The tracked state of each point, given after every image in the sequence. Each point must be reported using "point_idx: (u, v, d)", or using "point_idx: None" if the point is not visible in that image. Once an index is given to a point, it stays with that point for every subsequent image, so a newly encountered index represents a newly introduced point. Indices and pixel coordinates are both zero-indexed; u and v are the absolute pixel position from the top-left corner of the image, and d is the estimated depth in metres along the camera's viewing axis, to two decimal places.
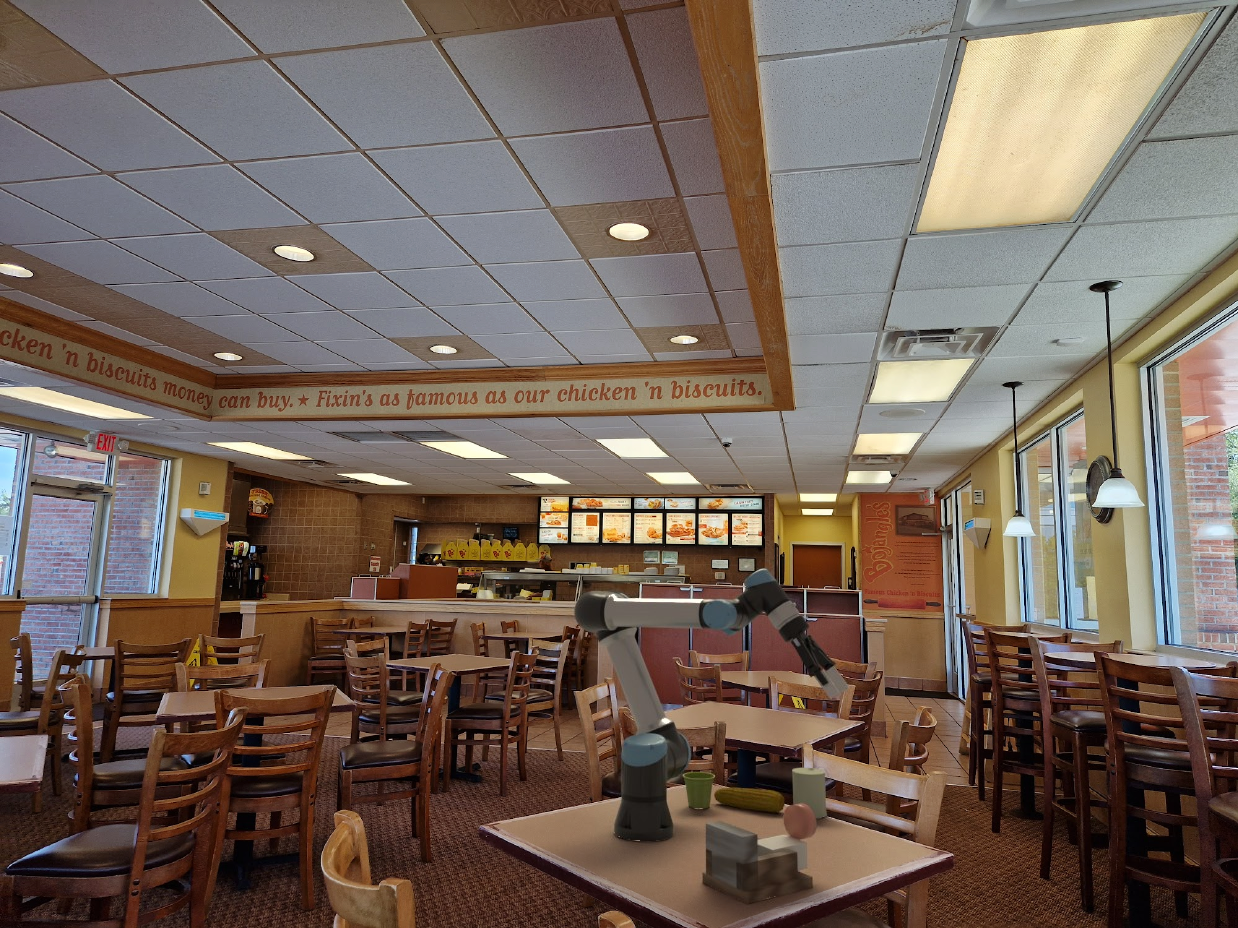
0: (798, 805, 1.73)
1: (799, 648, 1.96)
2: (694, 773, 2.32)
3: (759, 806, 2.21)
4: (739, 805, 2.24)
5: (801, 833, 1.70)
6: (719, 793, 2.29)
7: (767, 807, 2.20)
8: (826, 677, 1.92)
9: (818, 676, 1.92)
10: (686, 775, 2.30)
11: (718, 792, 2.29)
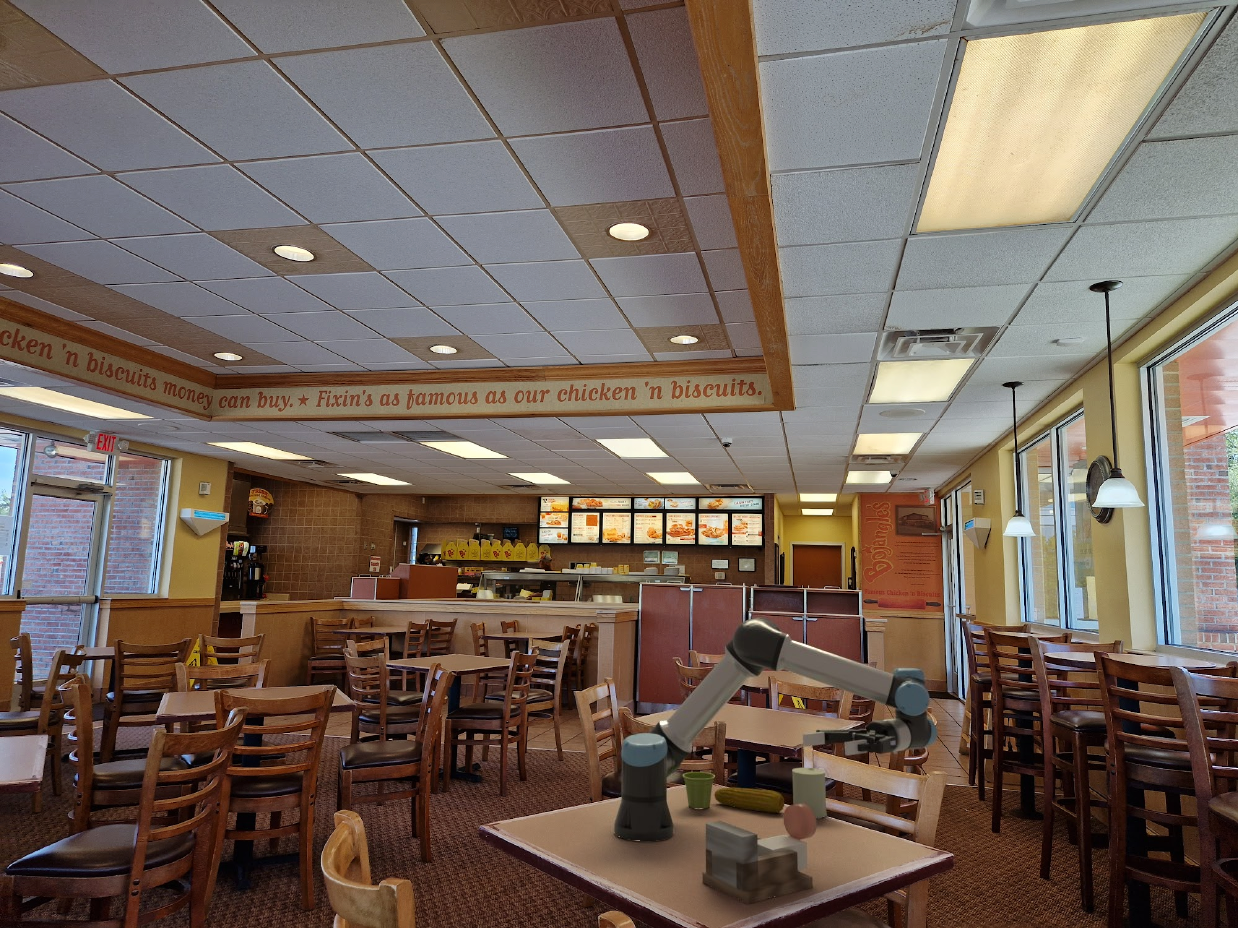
0: (798, 805, 1.73)
1: (889, 742, 1.82)
2: (694, 773, 2.32)
3: (759, 806, 2.21)
4: (739, 805, 2.25)
5: (801, 833, 1.70)
6: (719, 793, 2.29)
7: (767, 807, 2.20)
8: (861, 751, 1.77)
9: (868, 746, 1.77)
10: (686, 775, 2.30)
11: (718, 792, 2.29)
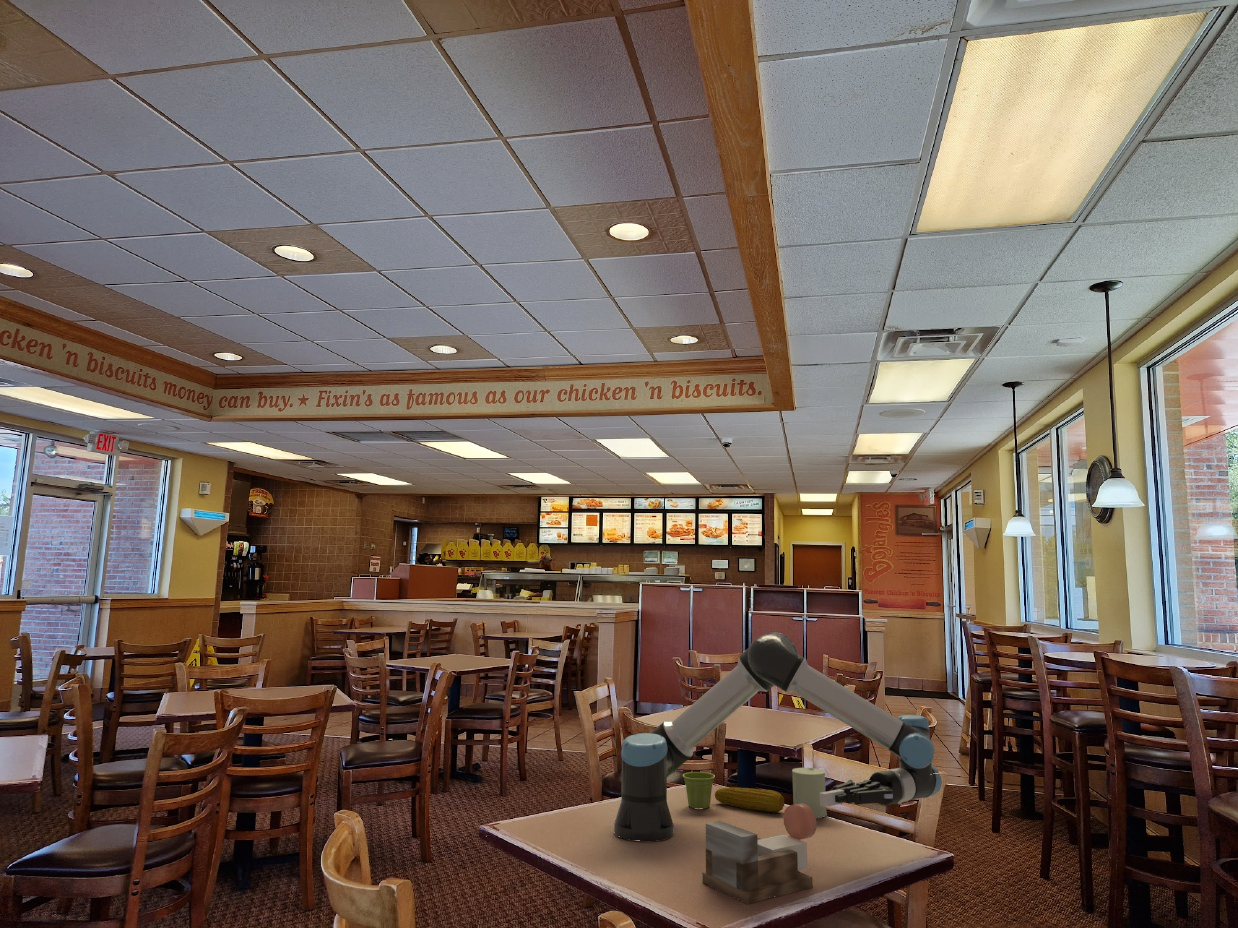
0: (798, 805, 1.73)
1: (881, 795, 1.80)
2: (694, 773, 2.32)
3: (759, 806, 2.21)
4: (739, 805, 2.25)
5: (801, 833, 1.70)
6: (719, 793, 2.29)
7: (767, 807, 2.20)
8: None
9: (845, 796, 1.79)
10: (686, 775, 2.30)
11: (718, 792, 2.30)
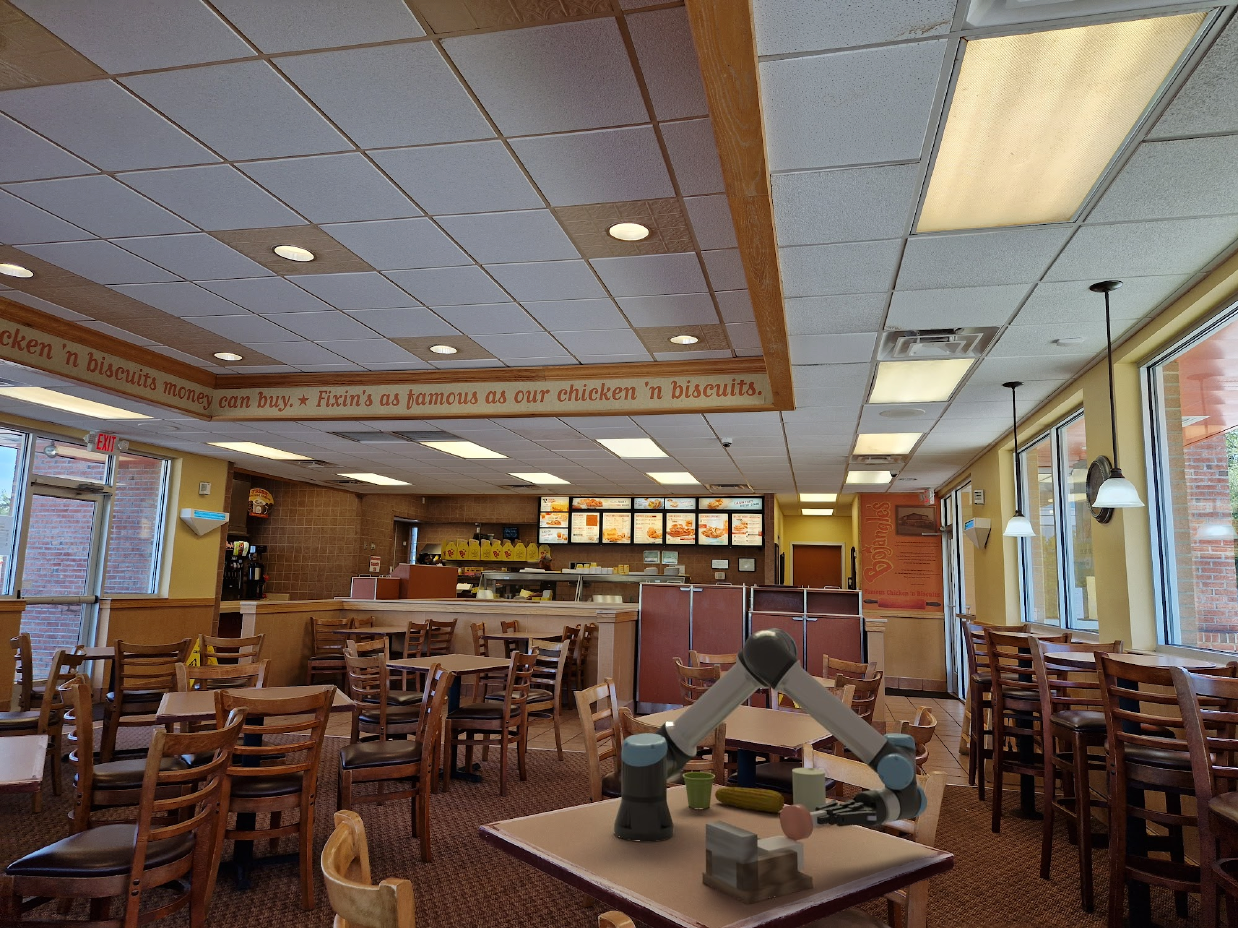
0: (795, 806, 1.72)
1: (864, 816, 1.76)
2: (694, 773, 2.32)
3: (758, 806, 2.21)
4: (739, 805, 2.25)
5: (798, 834, 1.70)
6: (720, 792, 2.29)
7: (766, 807, 2.20)
8: None
9: (828, 818, 1.74)
10: (686, 775, 2.30)
11: (719, 791, 2.30)
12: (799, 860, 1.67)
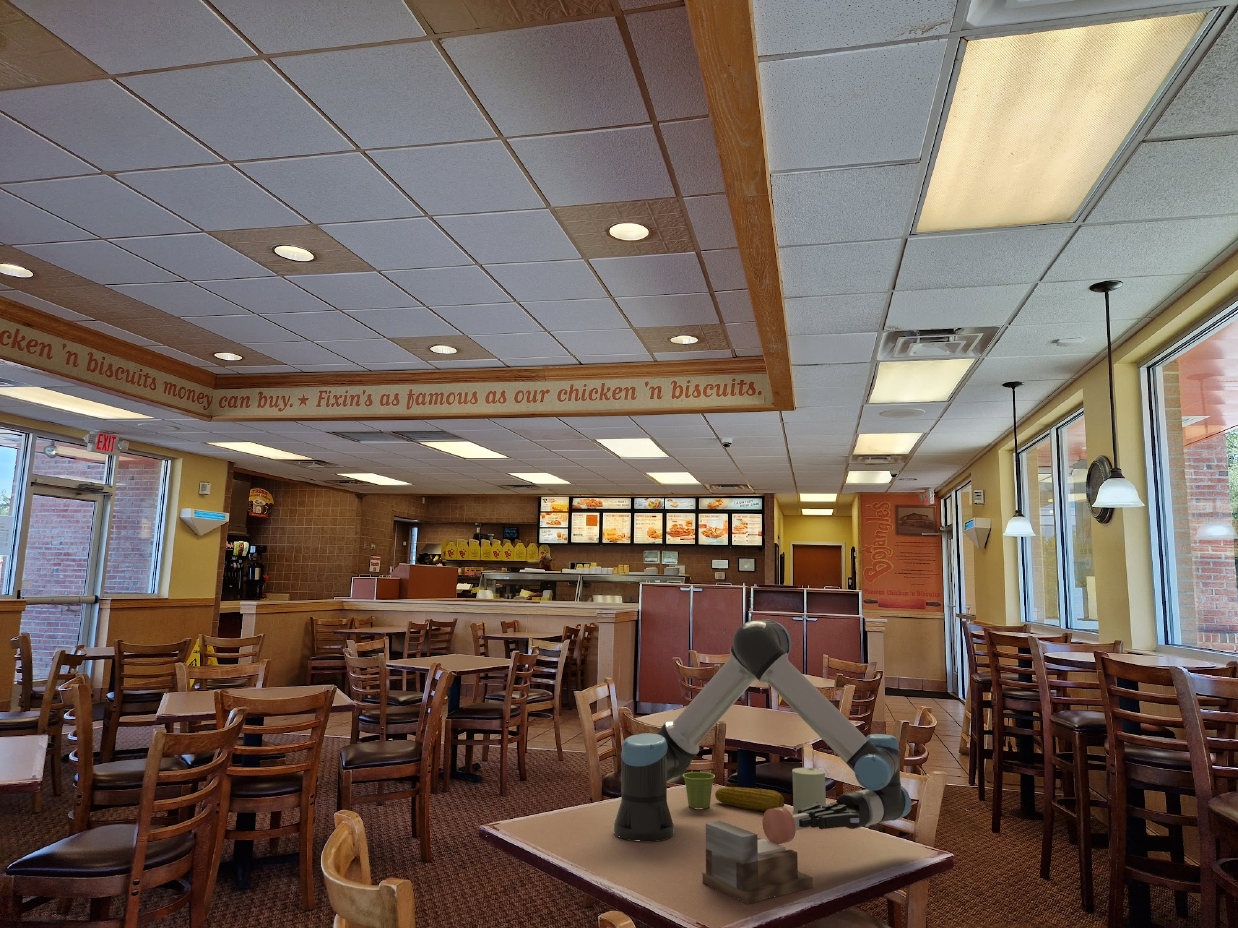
0: (777, 809, 1.70)
1: (847, 819, 1.74)
2: (694, 773, 2.32)
3: (759, 806, 2.21)
4: (739, 804, 2.25)
5: (780, 837, 1.67)
6: (720, 792, 2.29)
7: (766, 807, 2.20)
8: (803, 826, 1.72)
9: (810, 821, 1.72)
10: (686, 775, 2.30)
11: (719, 791, 2.30)
12: None
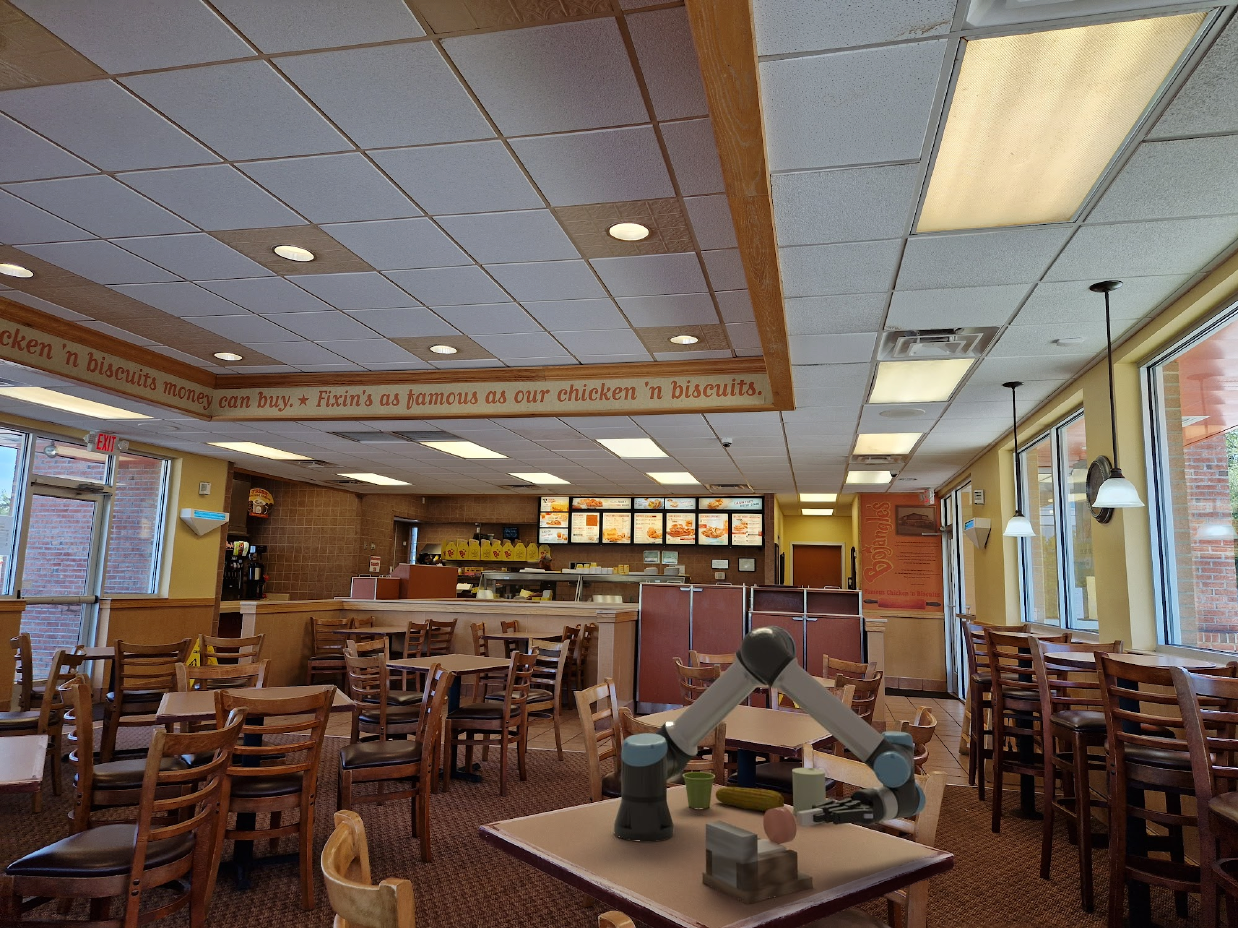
0: (778, 809, 1.70)
1: (861, 814, 1.75)
2: (694, 773, 2.32)
3: (758, 806, 2.21)
4: (739, 804, 2.25)
5: (781, 837, 1.67)
6: (720, 792, 2.30)
7: (766, 807, 2.20)
8: (817, 821, 1.74)
9: (824, 816, 1.74)
10: (686, 775, 2.30)
11: (719, 791, 2.30)
12: None
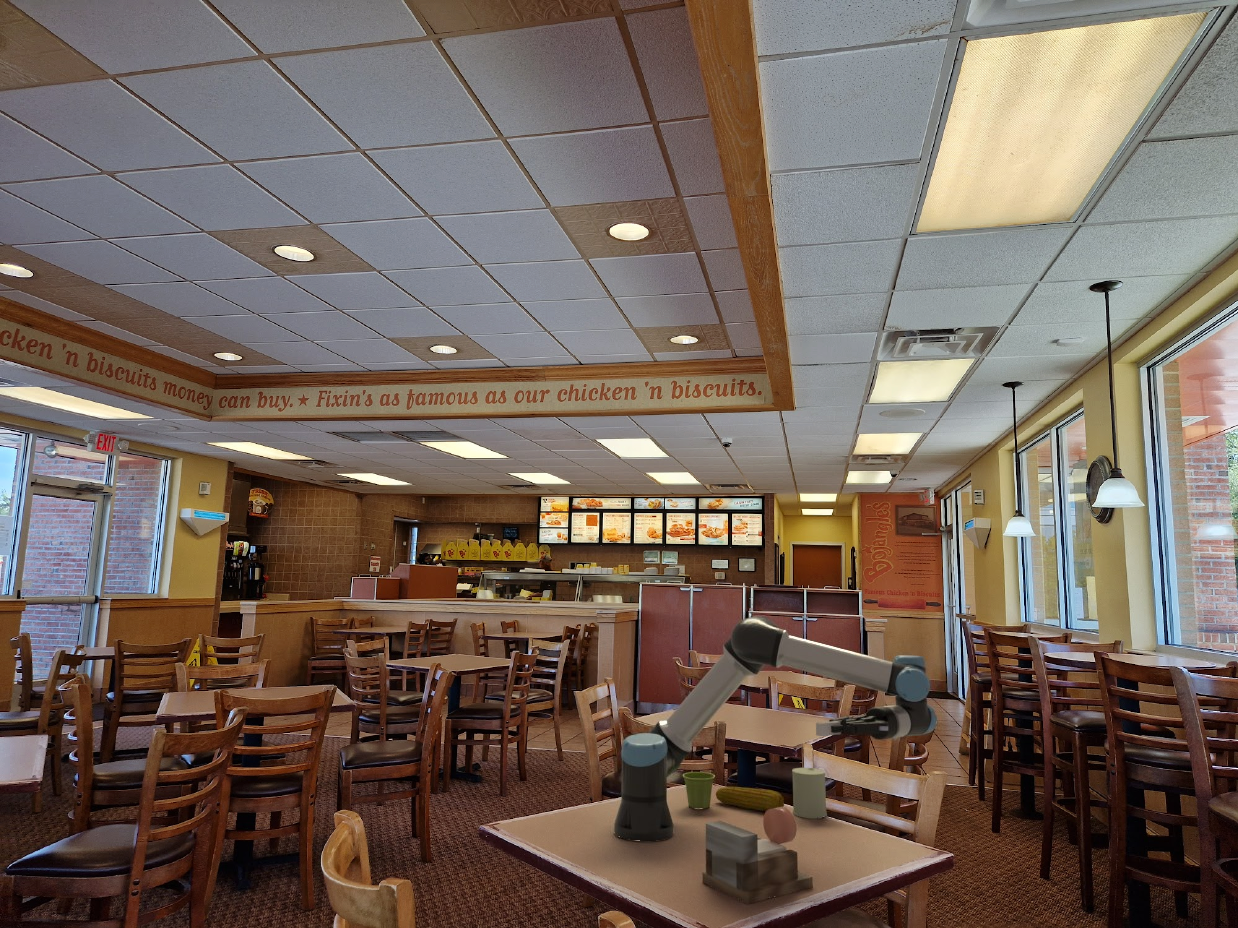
0: (778, 809, 1.70)
1: (877, 727, 1.83)
2: (694, 773, 2.32)
3: (758, 806, 2.21)
4: (739, 804, 2.25)
5: (781, 837, 1.67)
6: (720, 792, 2.30)
7: (766, 807, 2.20)
8: (834, 733, 1.81)
9: (841, 727, 1.81)
10: (686, 775, 2.30)
11: (719, 791, 2.30)
12: None
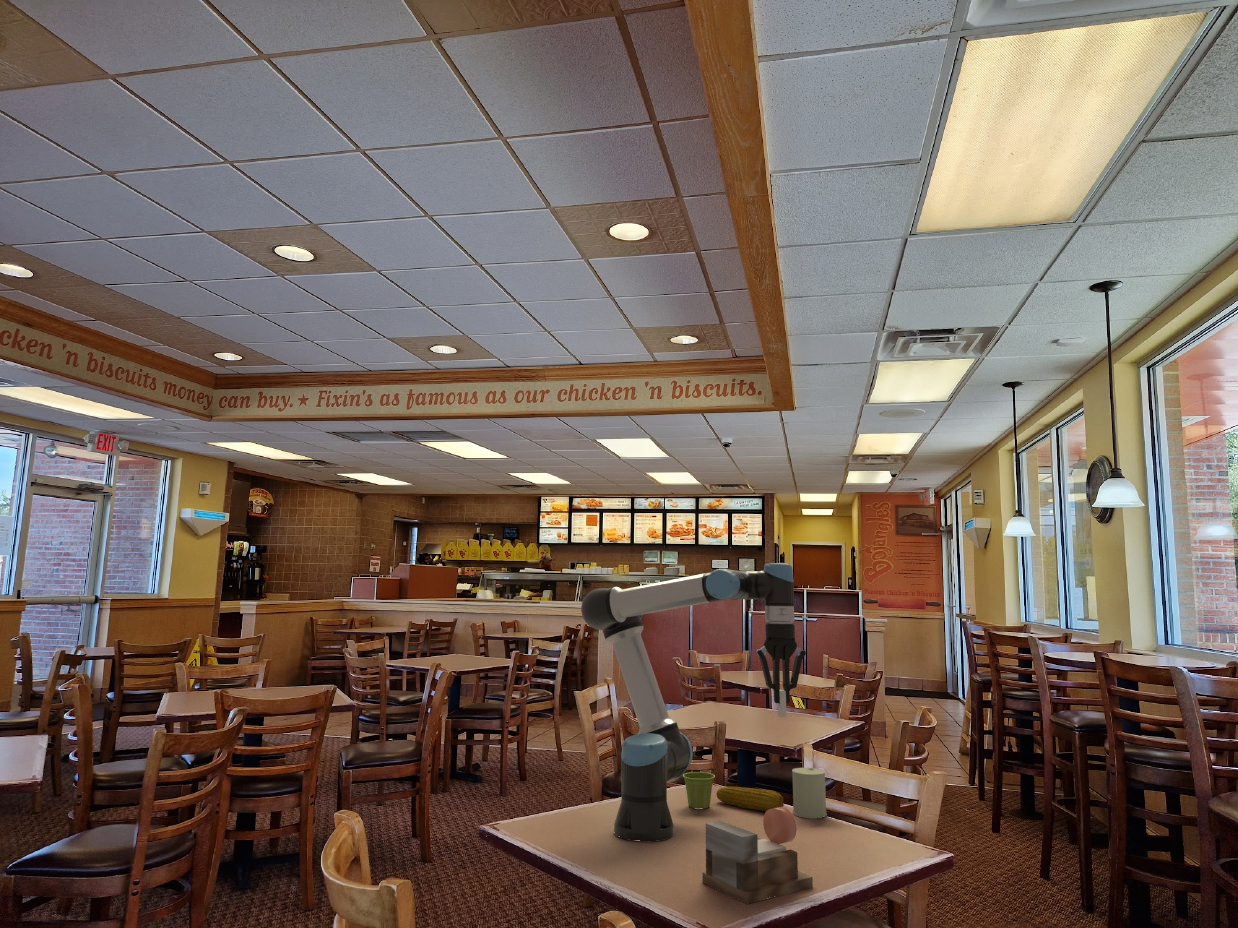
0: (778, 809, 1.70)
1: (761, 660, 2.04)
2: (694, 773, 2.32)
3: (758, 806, 2.21)
4: (739, 804, 2.26)
5: (781, 837, 1.67)
6: (720, 792, 2.30)
7: (765, 807, 2.20)
8: (779, 698, 2.01)
9: (774, 693, 2.03)
10: (686, 775, 2.30)
11: (720, 791, 2.31)
12: None
